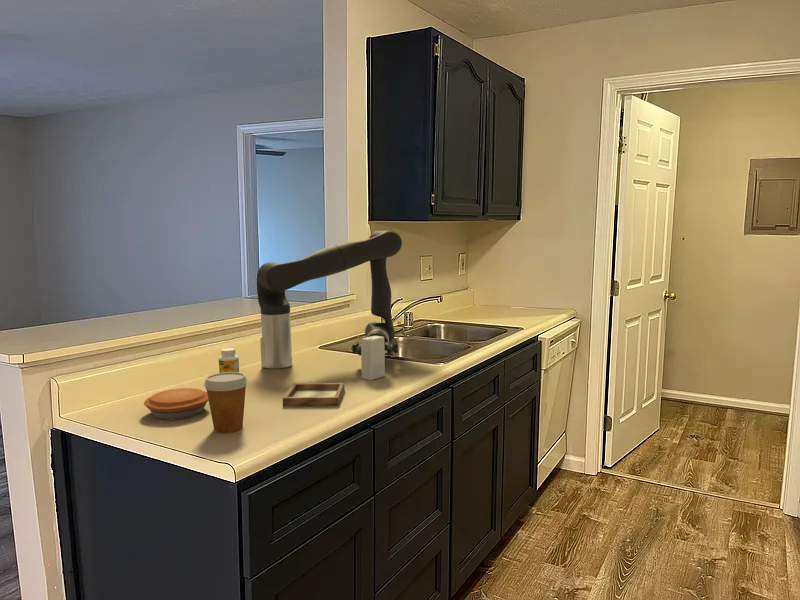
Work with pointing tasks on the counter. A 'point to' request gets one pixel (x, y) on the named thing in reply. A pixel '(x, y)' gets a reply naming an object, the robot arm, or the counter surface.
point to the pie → (177, 403)
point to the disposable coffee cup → (226, 400)
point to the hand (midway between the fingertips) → (374, 352)
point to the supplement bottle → (228, 361)
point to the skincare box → (373, 357)
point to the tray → (313, 394)
